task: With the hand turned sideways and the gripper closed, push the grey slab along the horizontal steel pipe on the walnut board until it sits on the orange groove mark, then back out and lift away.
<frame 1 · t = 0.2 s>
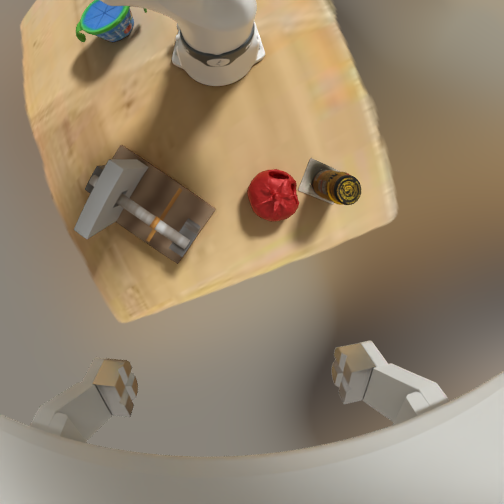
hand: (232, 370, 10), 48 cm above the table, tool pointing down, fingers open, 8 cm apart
pomegranate: (270, 193, 56), on the table
pipe rig: (148, 204, 54), on the table
grey slab: (112, 194, 44), point 9 cm above the table, slide at 0.0 cm
snack cup: (119, 29, 40), on the table
condiment: (321, 181, 56), on the table
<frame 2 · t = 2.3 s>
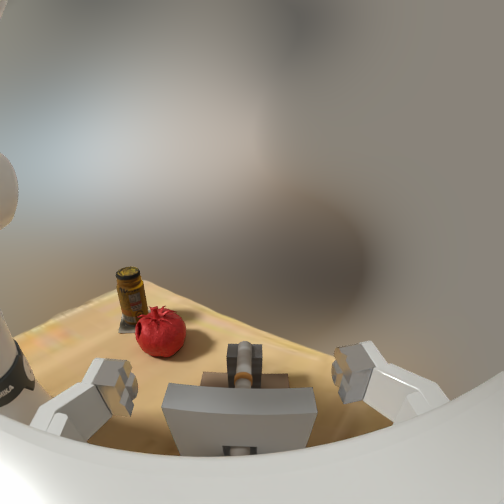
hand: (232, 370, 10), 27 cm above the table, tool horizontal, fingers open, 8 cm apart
pomegranate: (163, 346, 50), on the table
pipe rig: (242, 436, 32), on the table
grey slab: (240, 439, 24), point 9 cm above the table, slide at 0.0 cm
condiment: (136, 322, 57), on the table
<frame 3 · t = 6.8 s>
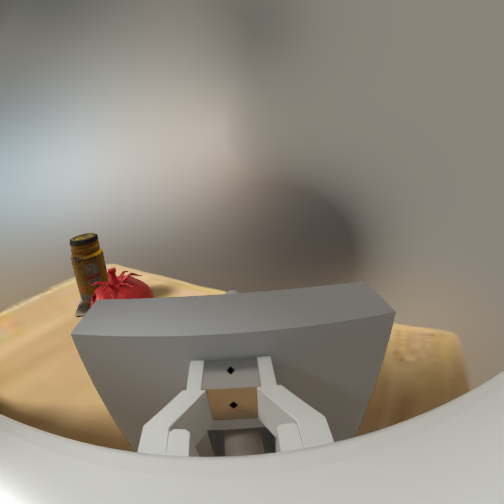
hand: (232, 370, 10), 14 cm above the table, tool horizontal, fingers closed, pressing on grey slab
pomegranate: (127, 326, 37), on the table
pipe rig: (245, 436, 20), on the table
grey slab: (241, 418, 13), point 9 cm above the table, slide at 1.3 cm, touching gripper
condiment: (97, 304, 43), on the table
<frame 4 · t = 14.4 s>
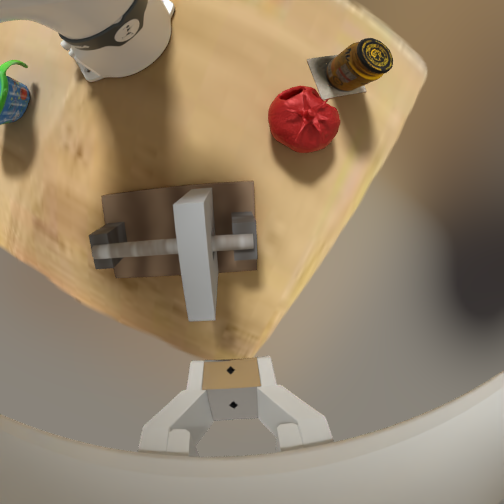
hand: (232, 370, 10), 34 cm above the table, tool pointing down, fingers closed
pomegranate: (297, 122, 39), on the table
pipe rig: (178, 231, 42), on the table
grey slab: (200, 245, 35), point 9 cm above the table, slide at 9.9 cm
snack cup: (18, 103, 31), on the table
condiment: (336, 75, 36), on the table
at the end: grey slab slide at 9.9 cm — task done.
